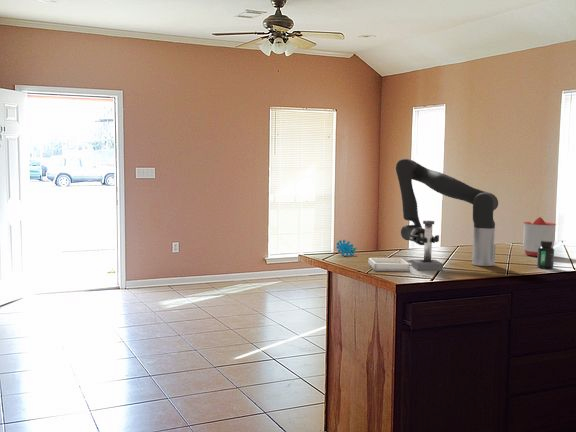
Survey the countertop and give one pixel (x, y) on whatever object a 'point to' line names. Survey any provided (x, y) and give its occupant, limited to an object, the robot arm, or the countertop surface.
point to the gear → (345, 248)
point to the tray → (388, 264)
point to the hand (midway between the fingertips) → (429, 240)
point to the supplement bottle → (545, 255)
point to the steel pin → (428, 241)
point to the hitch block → (427, 265)
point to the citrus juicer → (537, 235)
